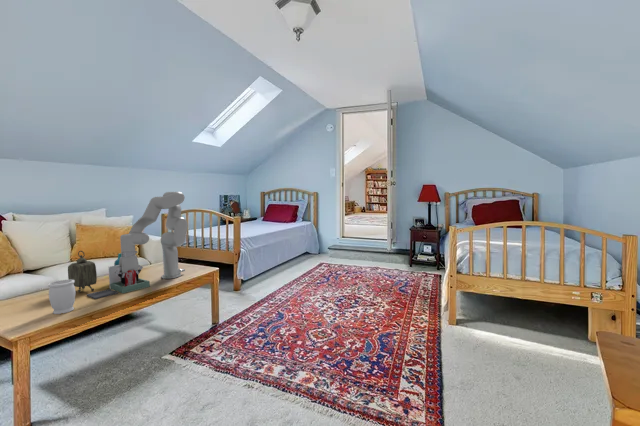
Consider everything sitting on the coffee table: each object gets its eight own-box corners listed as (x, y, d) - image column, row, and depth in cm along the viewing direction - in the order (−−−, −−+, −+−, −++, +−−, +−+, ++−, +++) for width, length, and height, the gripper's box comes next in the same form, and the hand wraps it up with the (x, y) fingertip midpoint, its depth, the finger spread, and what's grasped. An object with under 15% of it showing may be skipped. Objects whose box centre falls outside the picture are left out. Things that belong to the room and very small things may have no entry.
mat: (109, 290, 194) (109, 289, 194) (118, 293, 187) (118, 292, 187) (86, 295, 184) (86, 294, 184) (95, 299, 178) (95, 297, 177)
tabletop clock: (97, 290, 194) (95, 250, 192) (80, 295, 186) (78, 253, 184) (85, 287, 200) (82, 248, 199) (68, 291, 192) (65, 251, 191)
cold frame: (136, 282, 210) (135, 261, 209) (149, 286, 201) (148, 264, 200) (109, 288, 197) (108, 266, 196) (122, 293, 188) (121, 270, 187)
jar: (60, 307, 165) (58, 279, 164) (81, 307, 166) (79, 278, 165) (44, 315, 154) (42, 285, 153) (67, 314, 155) (64, 284, 154)
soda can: (139, 286, 201) (138, 268, 200) (129, 290, 194) (128, 270, 193) (131, 285, 203) (130, 267, 202) (121, 289, 196) (119, 269, 196)
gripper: (139, 251, 206) (141, 278, 208) (110, 255, 192) (112, 284, 193) (145, 252, 202) (147, 279, 203) (116, 257, 188) (117, 286, 189)
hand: (130, 281), depth 198 cm, fingers closed on soda can, 7 cm apart
